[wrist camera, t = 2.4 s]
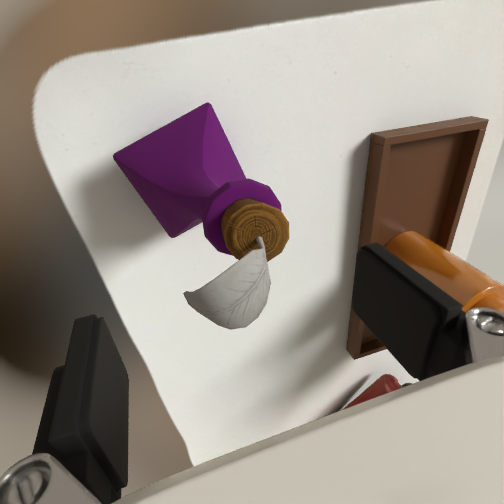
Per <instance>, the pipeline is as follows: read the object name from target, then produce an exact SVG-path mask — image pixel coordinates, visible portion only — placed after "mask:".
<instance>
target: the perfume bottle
mask: <svg viewBox="0 0 504 504" xmlns="http://www.w3.org/2000/svg"><path fill="white" fill-rule="evenodd" d="M113 158H114V160H115V162H116V163H117V164H118V166H119V167H120V169H121V170H122V171H123V173H124V174H125V175H126V177H127V178H128V180H129V181H130V182H131V184H132V185H133V187H134V188H135V189H136V191H137V192H138V193H139V195H140V196H141V198H142V199H143V200H144V202H145V203H146V205H147V206H148V207H149V209H150V210H151V211H152V213H153V214H154V216H155V217H156V218H157V220H158V221H159V223H160V224H161V225H162V227H163V228H164V229H165V231H166V232H167V234H168V235H169V236H170V237H171V238H175V237H177V236H178V235H180V234H182V233H184V232H186V231H187V230H189V229H191V228H193V227H194V226H196V225H198V224H200V223H202V222H203V228H204V235H205V237H206V238H207V239H208V241H209V242H210V243H211V244H212V245H213V246H214V247H215V248H216V249H217V251H219V252H222V253H225V254H229V255H233V256H234V257H235V258H236V259H239V261H238V262H236V263H235V264H234V265H232V266H231V267H230V268H228V269H227V270H226V271H224V272H223V273H222V274H220V275H219V276H218V277H216V278H215V279H213V280H212V281H210V282H209V283H207V284H206V285H204V286H203V287H201V288H200V289H198V290H196V291H194V292H188V291H186V292H185V293H183V294H184V296H185V298H186V300H187V302H188V304H189V305H190V306H191V307H192V308H194V309H195V310H196V311H197V312H199V313H200V314H202V315H203V316H205V317H206V318H208V319H209V320H211V321H212V322H214V323H215V324H217V325H219V326H222V327H225V328H228V329H237V328H243V327H247V326H248V325H249V324H250V323H252V322H253V321H254V320H255V319H257V318H258V316H259V315H260V313H261V312H262V310H263V308H264V307H265V305H266V303H267V298H268V293H269V289H270V284H271V281H270V275H269V270H268V264H267V262H268V261H269V260H271V259H272V258H274V257H276V256H277V255H279V254H280V253H281V252H282V251H283V249H284V247H285V245H286V243H287V241H288V239H289V222H288V221H287V219H286V218H285V216H284V215H283V213H282V212H281V204H280V202H279V200H278V199H277V197H276V196H275V194H274V193H273V191H272V190H271V188H270V187H269V186H267V185H264V184H262V183H259V182H257V181H254V180H251V179H246V177H245V175H244V173H243V171H242V169H241V166H240V164H239V162H238V160H237V158H236V156H235V154H234V152H233V150H232V147H231V145H230V143H229V141H228V139H227V137H226V135H225V133H224V131H223V128H222V126H221V124H220V122H219V120H218V118H217V116H216V114H215V112H214V109H213V107H212V105H211V104H210V103H205V104H203V105H201V106H200V107H198V108H196V109H194V110H192V111H191V112H189V113H187V114H185V115H183V116H181V117H180V118H178V119H176V120H174V121H172V122H171V123H169V124H167V125H165V126H163V127H162V128H160V129H158V130H156V131H154V132H153V133H151V134H149V135H147V136H145V137H143V138H142V139H140V140H138V141H136V142H134V143H133V144H131V145H129V146H127V147H125V148H124V149H122V150H120V151H118V152H116V153H115V154H114V155H113Z"/></svg>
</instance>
